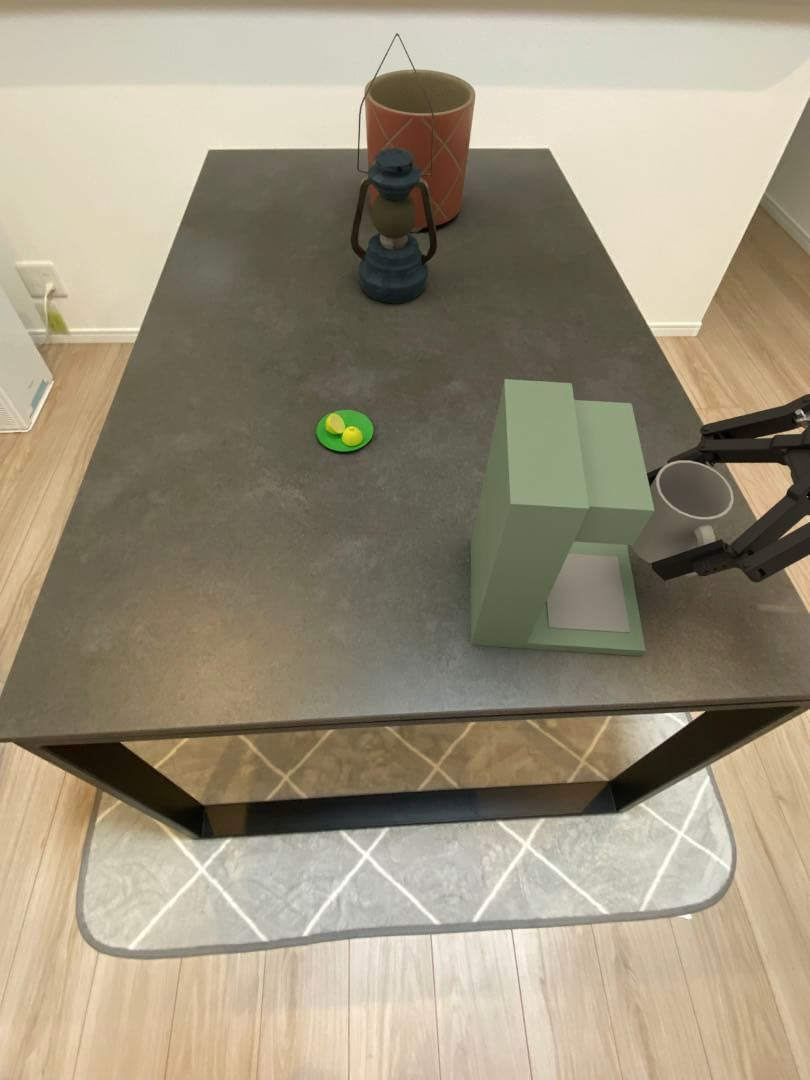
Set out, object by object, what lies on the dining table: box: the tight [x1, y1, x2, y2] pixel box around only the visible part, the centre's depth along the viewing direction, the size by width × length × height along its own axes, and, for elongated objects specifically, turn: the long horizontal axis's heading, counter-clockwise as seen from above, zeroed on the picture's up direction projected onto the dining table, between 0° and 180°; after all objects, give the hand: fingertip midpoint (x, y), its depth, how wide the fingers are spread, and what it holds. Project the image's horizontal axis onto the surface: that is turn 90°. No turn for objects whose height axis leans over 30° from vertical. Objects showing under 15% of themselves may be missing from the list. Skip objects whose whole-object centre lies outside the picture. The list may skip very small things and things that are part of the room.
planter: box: [363, 69, 476, 234], centre depth 111 cm, size 19×19×20 cm
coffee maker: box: [470, 378, 655, 657], centre depth 60 cm, size 19×14×26 cm
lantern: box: [350, 33, 438, 304], centre depth 90 cm, size 14×12×35 cm
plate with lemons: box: [315, 409, 374, 452], centre depth 84 cm, size 8×8×3 cm
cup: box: [630, 461, 735, 577], centre depth 60 cm, size 7×10×9 cm
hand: (648, 527), depth 61 cm, fingers closed on cup, 10 cm apart
